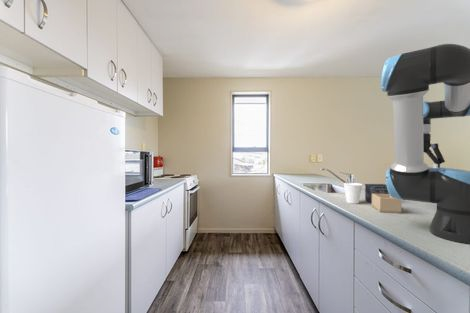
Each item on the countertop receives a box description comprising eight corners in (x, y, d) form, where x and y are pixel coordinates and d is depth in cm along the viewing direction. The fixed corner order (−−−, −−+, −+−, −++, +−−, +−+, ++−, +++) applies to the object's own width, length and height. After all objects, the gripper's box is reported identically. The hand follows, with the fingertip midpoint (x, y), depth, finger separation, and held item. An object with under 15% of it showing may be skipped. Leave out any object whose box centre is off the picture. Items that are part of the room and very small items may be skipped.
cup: (366, 204, 127) (366, 184, 127) (351, 205, 124) (352, 185, 124) (353, 200, 137) (353, 182, 136) (339, 201, 134) (339, 183, 134)
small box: (383, 201, 136) (383, 183, 136) (389, 203, 129) (389, 185, 129) (364, 200, 137) (364, 183, 137) (369, 203, 130) (370, 184, 130)
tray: (401, 213, 108) (401, 198, 108) (380, 212, 110) (380, 197, 110) (390, 207, 120) (391, 194, 120) (371, 206, 122) (371, 193, 122)
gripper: (444, 133, 114) (444, 176, 114) (389, 134, 120) (389, 175, 120) (455, 132, 107) (454, 178, 107) (396, 133, 113) (395, 176, 113)
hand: (419, 176), depth 114 cm, fingers closed on lid, 12 cm apart
